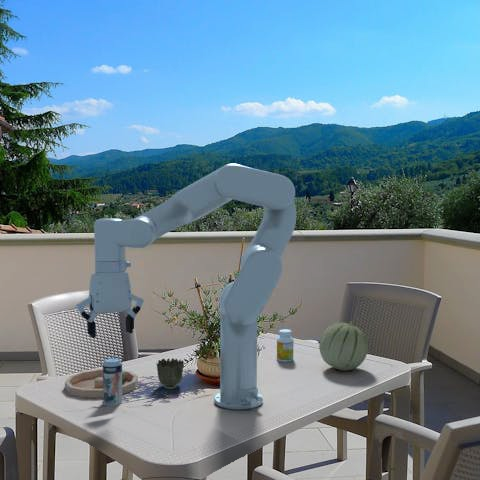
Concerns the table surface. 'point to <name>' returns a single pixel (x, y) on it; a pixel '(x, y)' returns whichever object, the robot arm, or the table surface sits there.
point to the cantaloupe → (343, 346)
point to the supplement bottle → (285, 346)
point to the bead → (124, 377)
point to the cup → (170, 372)
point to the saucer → (95, 383)
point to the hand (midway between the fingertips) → (111, 334)
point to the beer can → (112, 381)
